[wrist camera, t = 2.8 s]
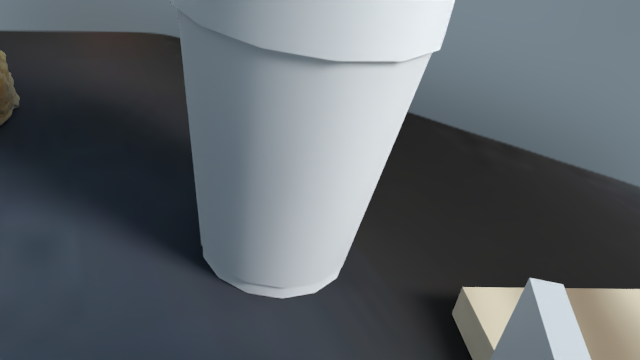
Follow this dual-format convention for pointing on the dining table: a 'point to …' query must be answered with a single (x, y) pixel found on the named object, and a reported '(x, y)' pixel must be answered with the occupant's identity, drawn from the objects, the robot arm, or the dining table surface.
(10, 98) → the bread roll
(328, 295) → the dining table surface
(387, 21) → the foam cup
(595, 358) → the serving board
